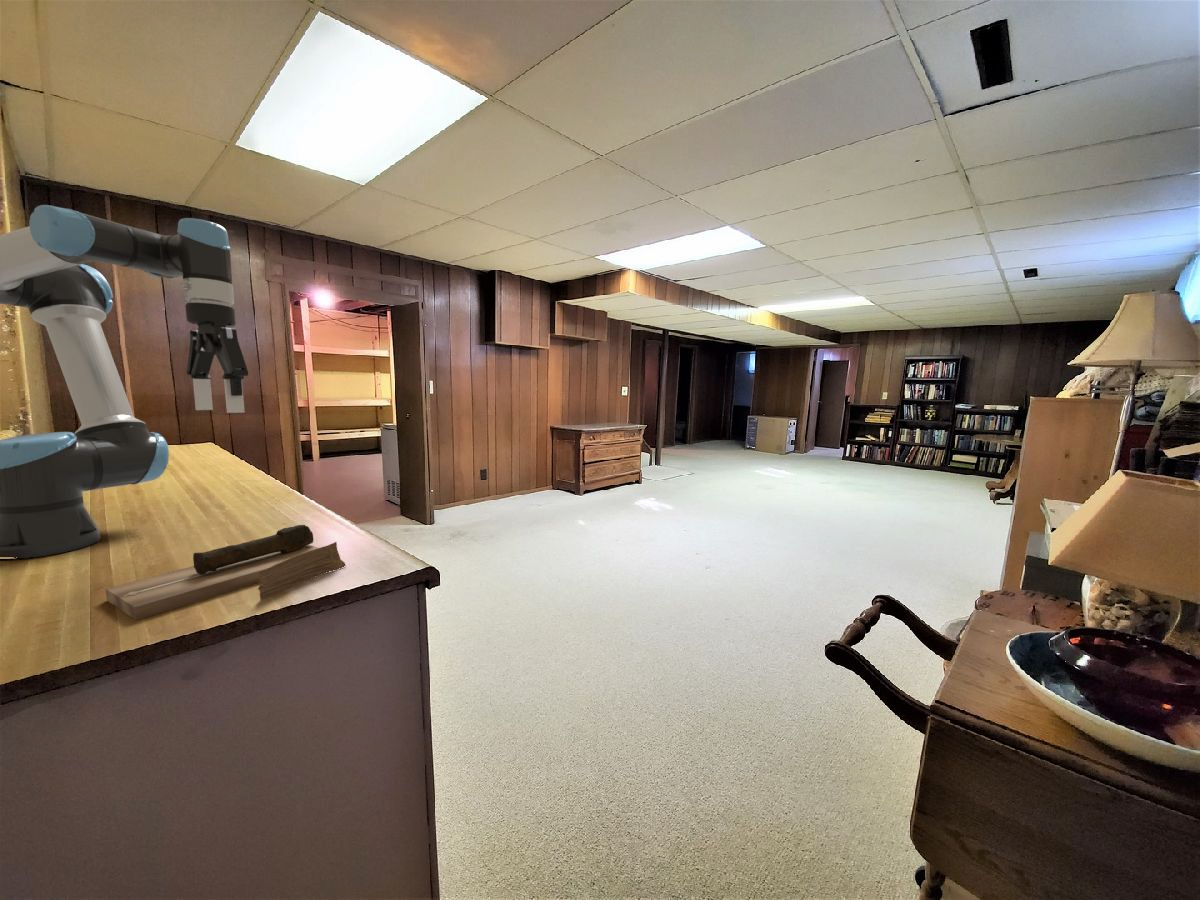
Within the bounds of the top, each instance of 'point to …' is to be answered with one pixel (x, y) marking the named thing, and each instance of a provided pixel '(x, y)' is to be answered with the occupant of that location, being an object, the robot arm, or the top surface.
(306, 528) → the dark brown rod
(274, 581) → the wood plank
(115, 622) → the top surface
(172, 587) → the board
